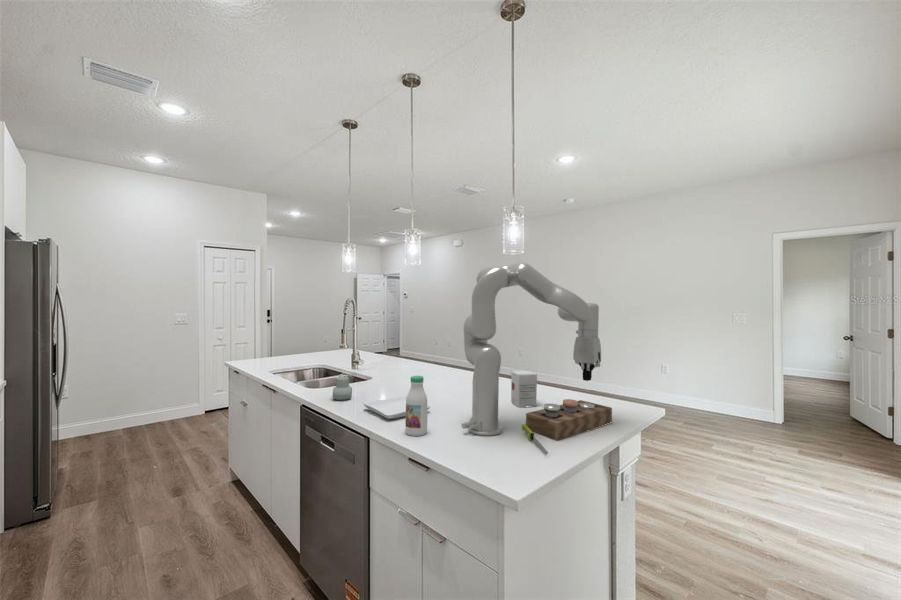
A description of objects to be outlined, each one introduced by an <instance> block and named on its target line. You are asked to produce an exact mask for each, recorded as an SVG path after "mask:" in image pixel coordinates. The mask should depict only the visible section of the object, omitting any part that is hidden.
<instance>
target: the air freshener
mask: <svg viewBox="0 0 901 600" xmlns="http://www.w3.org/2000/svg"><path fill="white" fill-rule="evenodd" d="M335 379H336V380H335V383H336V384H335V387H333V389H332V398H333V399H334V400H336V401H348V400H350V399H351V398H352V396H353V387H352V386H351V385H350V378H349V377H348V376H339V377H337V378H335Z"/></svg>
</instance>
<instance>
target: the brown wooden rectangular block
mask: <svg viewBox="0 0 901 600" xmlns="http://www.w3.org/2000/svg"><path fill="white" fill-rule="evenodd" d="M577 401H578V407H577V413H574V414H571V413H568V412H564V405H563V404H558V405H559V406H560V411H559V418H555V419H552V418H549V417H545V410H544V408H542V409H538V410H534V411H530V412H525V424H526V425H527V426H528V427H529V429H530V430H531V431H532V432H533V433H534V434H537V435H540V436H543V437H545V438H548V439H551V440H553V441H558V442H559V441H561V440H564V439H568V438H571V437H573V435H574V436H576V434H577V435H579V434H578V433H580V434H582V432H583V433H585V431H586V432H588V431H587V430H589V431H592V430H594V428H595V429H597V428H596V427H598V428H600V427H599V426H601V427H603V426H602V425H604V426H606V425H605V424H607V423H610V422H612V423H613V421H612V420H613V407H611V406H606V405H602V404H598V403H593V402H590V401H586V400H583V399H580V400H577ZM580 403H590V404H594V405H595V408H592V409H587V408H583V407H580ZM610 424H611V423H610ZM607 425H608V424H607ZM591 429H592V430H591Z"/></svg>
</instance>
